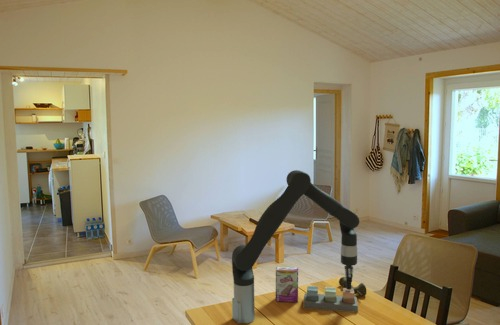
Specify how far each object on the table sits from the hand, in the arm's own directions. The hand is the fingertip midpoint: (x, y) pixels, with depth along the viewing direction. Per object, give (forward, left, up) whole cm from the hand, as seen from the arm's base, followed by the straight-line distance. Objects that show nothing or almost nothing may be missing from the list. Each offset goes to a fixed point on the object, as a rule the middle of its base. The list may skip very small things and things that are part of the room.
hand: (348, 288), depth 191 cm
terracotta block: (0, 0, -6) cm, 6 cm away
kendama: (+12, +11, -9) cm, 19 cm away
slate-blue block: (-13, +11, -6) cm, 18 cm away
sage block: (-7, +5, -6) cm, 10 cm away
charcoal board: (-7, +5, -9) cm, 12 cm away
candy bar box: (-22, +20, -9) cm, 31 cm away
